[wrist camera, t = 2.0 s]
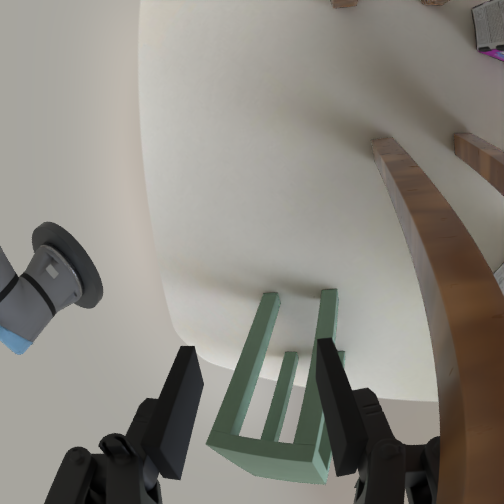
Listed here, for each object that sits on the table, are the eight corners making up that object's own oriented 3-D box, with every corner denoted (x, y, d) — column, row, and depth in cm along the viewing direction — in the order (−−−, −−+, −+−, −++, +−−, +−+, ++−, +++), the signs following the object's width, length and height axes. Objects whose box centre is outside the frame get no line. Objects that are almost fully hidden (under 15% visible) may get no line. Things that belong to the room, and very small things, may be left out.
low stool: (287, 358, 41) (253, 475, 26) (263, 293, 34) (205, 444, 19) (345, 357, 37) (325, 484, 22) (337, 288, 30) (312, 462, 15)
